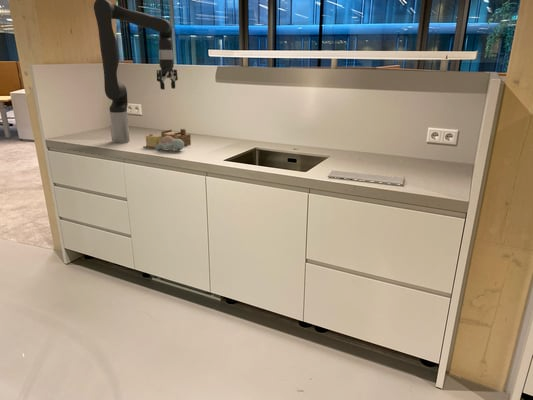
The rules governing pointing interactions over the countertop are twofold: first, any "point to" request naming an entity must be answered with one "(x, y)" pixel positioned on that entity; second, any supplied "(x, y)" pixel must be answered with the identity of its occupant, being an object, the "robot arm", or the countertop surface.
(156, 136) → the olive yellow block
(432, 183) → the countertop surface
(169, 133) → the brown notched block
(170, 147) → the toy
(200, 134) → the countertop surface
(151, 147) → the mat
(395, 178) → the flat grey slab
